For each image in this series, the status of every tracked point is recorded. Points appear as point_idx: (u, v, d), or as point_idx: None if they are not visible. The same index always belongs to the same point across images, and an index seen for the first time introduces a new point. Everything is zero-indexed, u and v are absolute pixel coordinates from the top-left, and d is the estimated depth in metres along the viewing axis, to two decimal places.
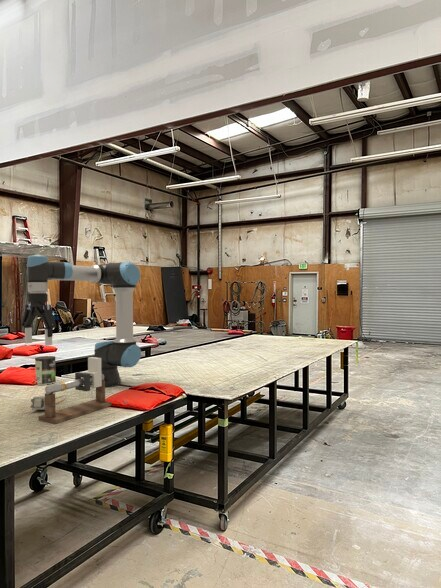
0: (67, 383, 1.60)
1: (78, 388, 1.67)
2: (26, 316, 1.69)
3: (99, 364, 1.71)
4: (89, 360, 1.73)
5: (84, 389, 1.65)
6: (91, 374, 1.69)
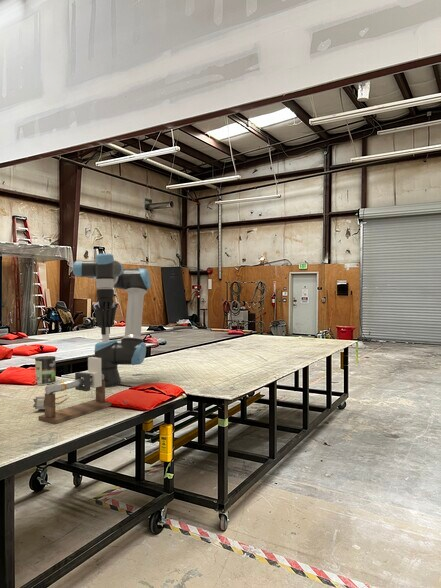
0: (67, 383, 1.60)
1: (78, 388, 1.67)
2: None
3: (99, 364, 1.71)
4: (89, 360, 1.73)
5: (84, 389, 1.65)
6: (91, 374, 1.69)
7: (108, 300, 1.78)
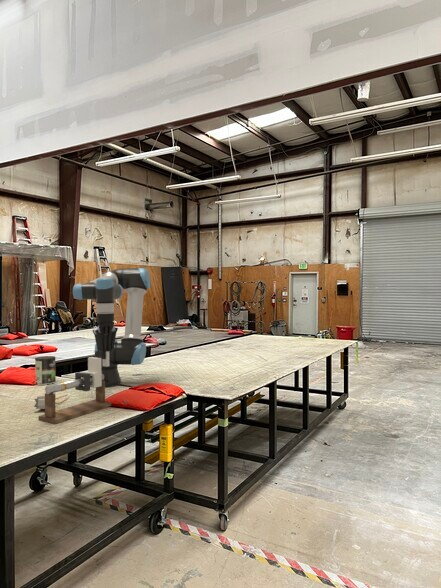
0: (67, 383, 1.60)
1: (78, 388, 1.67)
2: None
3: (99, 364, 1.71)
4: (89, 360, 1.73)
5: (84, 389, 1.65)
6: (91, 374, 1.69)
7: (108, 324, 1.78)
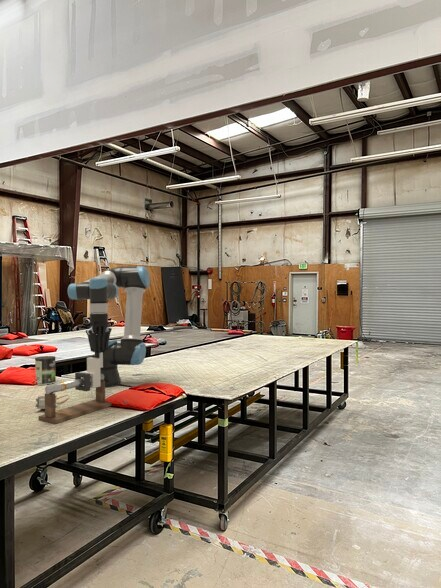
0: (67, 383, 1.60)
1: (78, 388, 1.67)
2: (104, 338, 1.78)
3: (98, 364, 1.70)
4: (88, 361, 1.72)
5: (84, 389, 1.65)
6: (90, 374, 1.69)
7: (102, 325, 1.75)
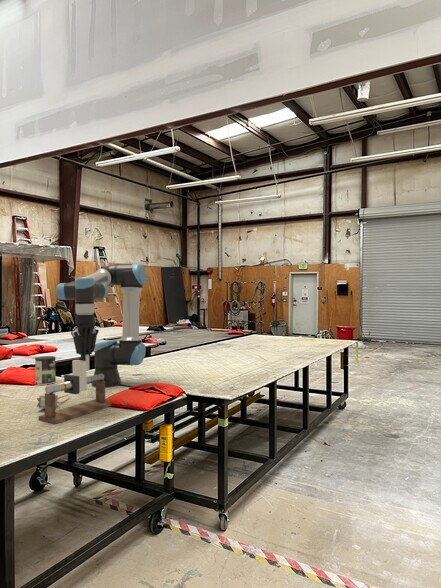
0: (67, 383, 1.60)
1: (67, 391, 1.62)
2: (90, 340, 1.72)
3: (84, 367, 1.64)
4: (74, 363, 1.66)
5: (73, 392, 1.60)
6: None
7: (88, 326, 1.68)
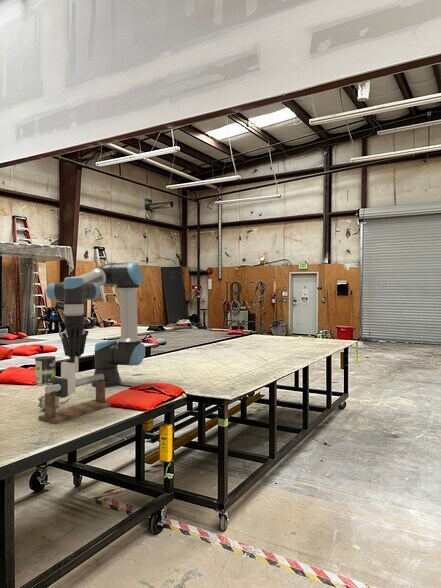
0: None
1: (55, 394, 1.58)
2: (80, 342, 1.67)
3: (72, 369, 1.59)
4: (62, 365, 1.61)
5: (61, 395, 1.56)
6: None
7: (77, 327, 1.64)
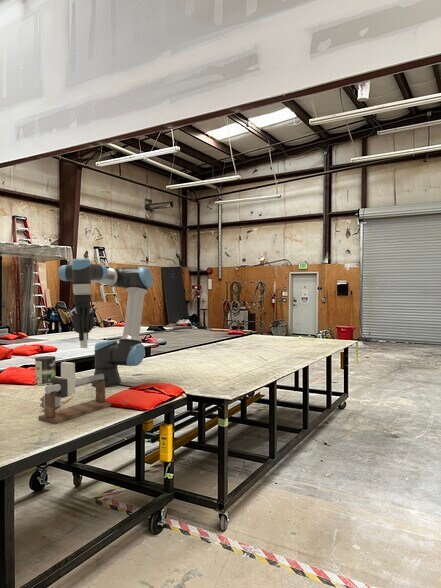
0: None
1: (55, 394, 1.57)
2: (88, 319, 1.78)
3: (72, 370, 1.59)
4: (62, 365, 1.61)
5: (61, 395, 1.56)
6: None
7: (85, 305, 1.75)
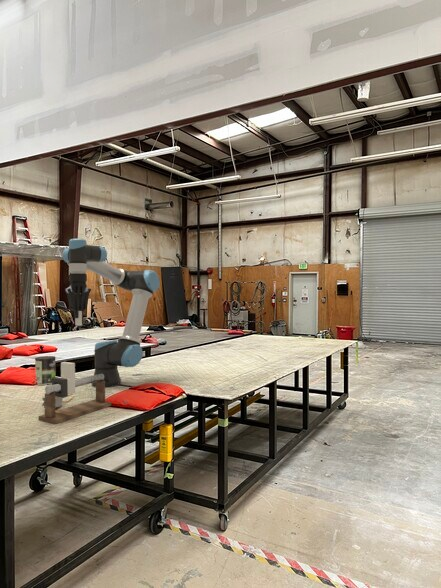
0: None
1: (55, 394, 1.57)
2: (83, 298, 1.85)
3: (72, 370, 1.59)
4: (62, 365, 1.61)
5: (61, 395, 1.56)
6: None
7: (81, 284, 1.81)
